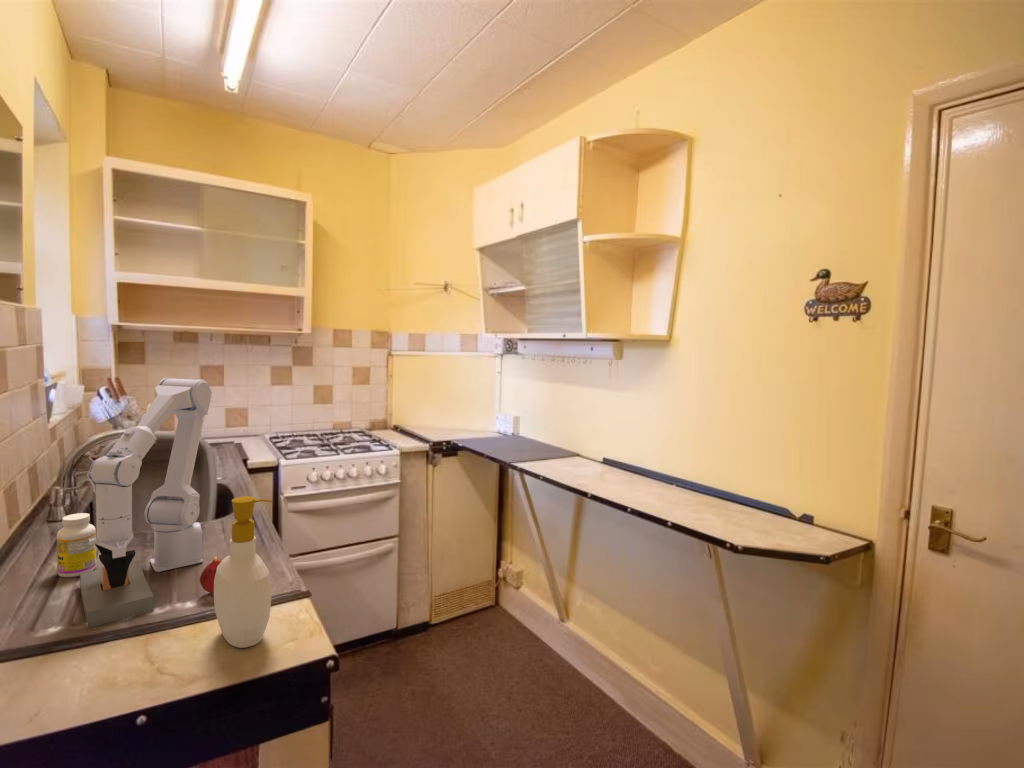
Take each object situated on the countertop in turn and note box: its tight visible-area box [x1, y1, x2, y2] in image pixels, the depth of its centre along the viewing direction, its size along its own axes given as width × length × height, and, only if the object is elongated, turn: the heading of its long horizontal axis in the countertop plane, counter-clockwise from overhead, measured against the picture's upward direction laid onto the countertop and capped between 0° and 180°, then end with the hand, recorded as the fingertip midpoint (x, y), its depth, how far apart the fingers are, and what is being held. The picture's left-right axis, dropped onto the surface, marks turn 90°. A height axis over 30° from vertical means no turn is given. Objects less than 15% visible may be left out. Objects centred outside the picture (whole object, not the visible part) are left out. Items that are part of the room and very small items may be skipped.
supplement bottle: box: [56, 512, 97, 578], centre depth 114 cm, size 7×7×13 cm
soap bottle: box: [213, 495, 273, 649], centre depth 93 cm, size 14×9×26 cm, turn 48°
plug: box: [101, 566, 128, 591], centre depth 104 cm, size 4×3×6 cm
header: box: [79, 560, 154, 629], centre depth 104 cm, size 10×20×3 cm, turn 43°
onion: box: [199, 556, 223, 595], centre depth 108 cm, size 6×6×8 cm
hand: (115, 579), depth 104 cm, fingers open, 6 cm apart
